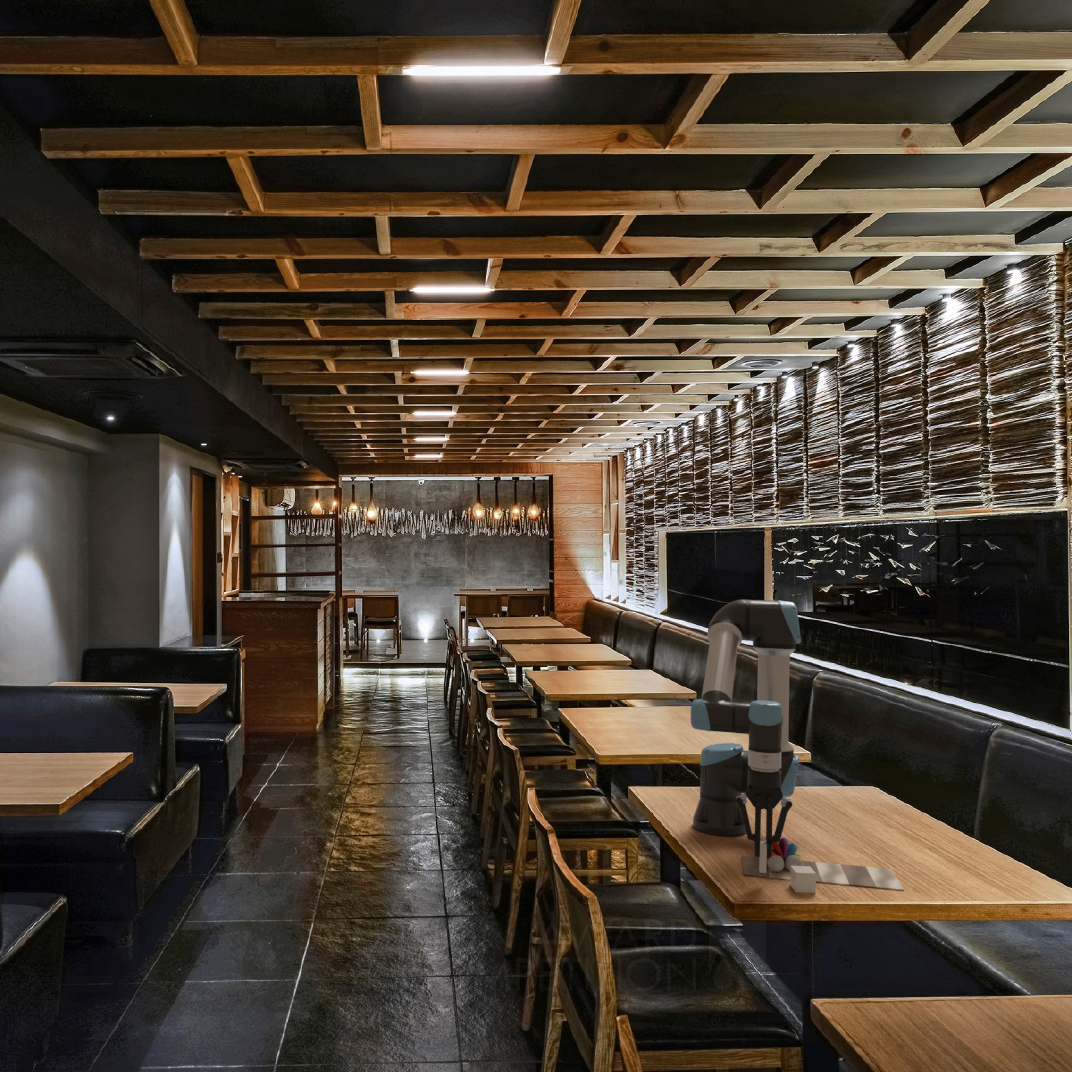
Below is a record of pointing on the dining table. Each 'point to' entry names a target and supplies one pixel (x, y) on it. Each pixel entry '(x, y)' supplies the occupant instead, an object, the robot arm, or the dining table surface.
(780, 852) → the rainbow segmented toy
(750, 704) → the robot arm
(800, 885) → the cube
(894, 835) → the dining table surface
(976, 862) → the dining table surface
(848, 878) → the striped mat
